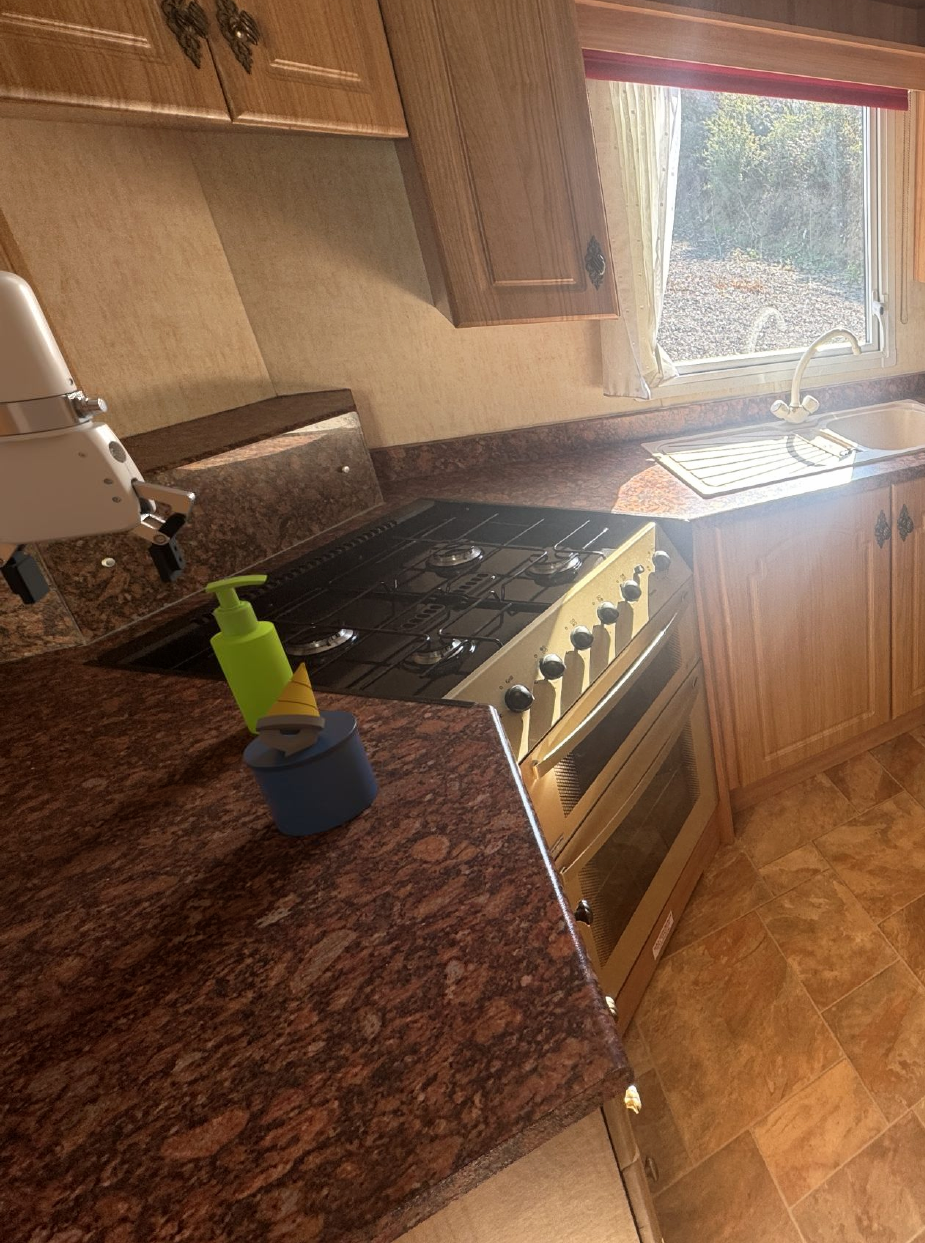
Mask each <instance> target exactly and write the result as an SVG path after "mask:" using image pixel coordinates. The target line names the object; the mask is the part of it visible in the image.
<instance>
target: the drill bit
mask: <svg viewBox="0 0 925 1243" xmlns="http://www.w3.org/2000/svg"><path fill="white" fill-rule="evenodd" d="M290 680H292V681H289V682H288V683H287V685H286V686H285V688H284V689H283V691H282V692H281V694H280V695H279V697H278V698H277V699H276V700H277V701H278V702H274V704H273V705H272V707H271V708H270V710H269V711H268V713H267V714H266V715H265V717H263V718H260V719H258V720H257V725H256V731H257V732H259V734H258V736H259V738H258V742H259V743H262V744H265V745H268V746H270V747H273V748H276V749H279V750H282V751H285V752H286V754H285V757H287V756H289V755H291V754H294V753H296V752H298V751H300V750H302V749H305V748H307V747H309V746H311V745H313V744H316V743H317V739H318V733H319V731H322V730H323V729H324V723H325V719H324V718H323V717H320V715H319V712H320V711H319V709H318V705H317V702H316V699H315V695H314V692H313V688H312V685H311V681H310V678H309V675H308V671H307V668H306V664H305V662H301V663H300V664H299V666H298V667H297V669H296V670H295V671H294V673H293V676H292V678H291V679H290ZM283 735H295V736H293V737H286V736H283Z"/></svg>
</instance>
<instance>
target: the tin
mask: <svg viewBox="0 0 925 1243" xmlns="http://www.w3.org/2000/svg"><path fill="white" fill-rule="evenodd" d="M318 712H319V715H320V717H323V718H324V719H325V723H324V729H323V730H322V731H319V733H318V739H317V743H316V744H313V745H311V746H309V747H307V748H305V749H302V750H300V751H298V752H296V753H294V754H291V755H289V756H287V757H285V754H286V752H285V751H282V750H279V749H276V748H273V747H270V746H268V745H265V744H262V743H259V742H258V738H259V735H258V736H256V737H255V738H254V739H253V740H252V741H251V742H250V743H248V745H247V746H246V748H245V749H244V751H243V754H242V759H243V762H244V764H245V766H246V767H247V768H248V769H250V771H251V773H252V775H253V777H254V780H255V782H256V784H257V786H258V788H259V791H260V793H261V796H262V797H263V800H264V802H265V804H266V806H267V809H268V811H269V814H270V815H271V818H272V820H273V821H274V824H275V827H276V829H277V830H278V832H280V833H282V834H283V835H287V836H290V837H291V836H292V837H293V836H294V837H302V836H311V835H316V834H318V833H323V832H326V831H329V830H332V829H335V828H336V827H339V826H340V825H343V824H345V823H347V822H349V821H351V820H352V819H354V818H355V817H357V816H358V815H361V813H363V812H364V811H366V809H368V807H370V805H371V804H373V802H374V801H375V800H376V798H377V797H378V793H379V789H380V788H379V784H378V780H377V779H376V776H375V773H374V771H373V768H372V765H371V763H370V760H369V757H368V754H367V752H366V749H365V746H364V743H363V741H362V738H361V736H360V733H359V730H358V729H359V724H358V721H357V718H356V716H355V715H354V714H352V713H350V712H348V711H343V710H324V711H322V710H321V711H318ZM283 736H286V737H293V736H295V735H283Z"/></svg>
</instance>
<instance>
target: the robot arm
mask: <svg viewBox="0 0 925 1243" xmlns="http://www.w3.org/2000/svg"><path fill="white" fill-rule="evenodd" d="M107 411H108V406H107V403H106V402H105V400H104V399H103V398H101V397H98V398H97V397H96V398H91V397H86V396H85V395H84V394H83V392H82V390H78V388H77V385H76V383H75V381H74V378H73V377H72V375H71V372H70V369H69V368H68V366H67V363H66V361H65V359H64V356H63V355H62V352H61V350H60V347H59V346H58V344H57V341H56V339H55V337H54V335H53V332H52V330H51V328H50V326H49V323H48V321H47V319H46V316H45V314H44V313H43V310H42V308H41V306H40V303H39V301H38V299H37V296H36V295H35V293H34V291H33V289H32V287H31V286H30V284H29V283H28V282H27V281H26V279H24V278H23V277H21V276H19V275H18V274H16V273H13V272H10V271H6V270H0V572H1V575H2V576H3V578H4V580H5V582H6V583H7V585H8V587H9V589H10V591H11V592H12V594H13V595H16V596H17V595H18V596H19V598H20V600H21V602H22V604H24V605H25V606H28V605H34V604H36V603H37V602H39V601H40V600H41V599H43V598H44V597H45V596H46V595H48V594H49V593H50V592H51V587H50V585H49V583H48V581H47V580H46V577H45V575H44V574H43V572H42V570H41V568H40V566H39V564H38V562H37V560H36V558H35V557H34V556H33V555H31V553H27V554H26V553H24V550H25V549H26V547H27V545H30V544H39V543H45V542H53V541H54V542H55V541H62V540H71V539H76V538H84V537H92V536H101V535H107V534H115V533H120V532H121V533H122V532H125V531H128V532H130V533H132V534H134V535H135V536H138V537H140V538H143V539H145V540H146V541H149V542H150V543H151V545H150V546H148V548H147V551H148V553H149V556H150V558H151V560H152V562H153V564H154V567H155V569H156V571H157V573H158V576H159V578H160V580H161V581H162V583H165V584H169V583H174V582H175V581H176V580H177V579H178V578H179V577H180V576H181V575H182V574H183V572H184V569H185V568H186V565H187V564H186V560H185V558H184V555H183V553H182V551H181V548H180V547H179V544H178V542H177V540H176V537H175V536H176V535H177V534H178V533H179V531H180V530H181V529H182V528H183V527H184V526H185V525H186V523H187V522H188V521H189V520H190V519H191V513H192V511H193V507H194V504H195V501H196V495H195V494H194V493H193V492H191V491H188V490H183V489H178V488H173V487H170V486H165V485H160V484H156V483H150V482H146V481H145V480H144V477H143V475H142V474H141V472H140V471H139V469H138V467H137V465H136V464H135V462H134V461H133V459H132V457H131V456H130V454H129V453H128V451H127V449H126V448H125V446H124V445H123V444H122V442H121V441H120V439H119V438H118V437H117V435H116V434H115V433H114V431H113V430H112V429H111V427H110V426H109V425H108V424H107V423H106V422H105V421H94V422H93V421H92V419H94V416H95V415H97V414H104V413H107ZM155 502H158V503H164V504H168V505H169V506H170V508H171V509H170V514H169V517H168V518H167V519H166V520H165V519H162V518H160V517H159V516H157V515H154V514H155V512H156V510H157V506H156V503H155Z"/></svg>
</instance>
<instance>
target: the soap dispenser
mask: <svg viewBox="0 0 925 1243" xmlns="http://www.w3.org/2000/svg"><path fill="white" fill-rule="evenodd" d="M267 577H268V575H267V574H250V575H241V576H234V577H229V578H225V579H221V580H216V581H213V582H208V583H207V585H206V587H205V589H204V590H205V593H206V594H207V595H208V594H212V593H215V595H216V598H217V600H218V603H219V606H217V608H215V609H214V610H213V616H214V617H215V618H214V619H215V620H216V623H217V626H218V627H219V629H220V632H218V633H216V634H214V635H213V636H212V637H211V638H210V640H209V642H210V645H211V647H212V649H213V651H214V654H215V656H216V658H217V660H218V663H219V665H220V668H221V670H222V672H223V674H224V676H225V678H226V681H227V683H228V686H229V688H230V690H231V692H232V694H233V697H234V699H235V701H236V704H237V706H238V708H239V710H240V713H241V715H242V717H243V720H244V722H245V724H246V726H247V728H248V731H249V732H250V733H251V734H254V735H259V732H257V731H256V725H257V720H258V719H260V718H263V717H265V715H266V714H267V713H268V711H269V710H270V708H271V707H272V705H273V704H274V702H278V701H277V700H276V699H277V698H278V697H279V695H280V694H281V692H282V691H283V689H284V688H285V686H286V685H287V683H288V682H289V681H292V680H290V679H291V678H292V676H293V675H294V673H293V670H292V668H291V665H290V663H289V660H288V657H287V655H286V653H285V650H284V648H283V645H282V642H281V640H280V638H279V635H278V632H277V630H276V627H275V625H274V623H272V622H271V621H265V620H263V621H262V620H260V621H258V619H257V616H256V613H255V611H254V609H253V606H252V604H251V602H249V601H247V600H240V599H239V597H238V594H237V592H236V588H238V587H244V586H254V585H256V586H257V585H263V584H264V583H265V582H266V581H267Z"/></svg>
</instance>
